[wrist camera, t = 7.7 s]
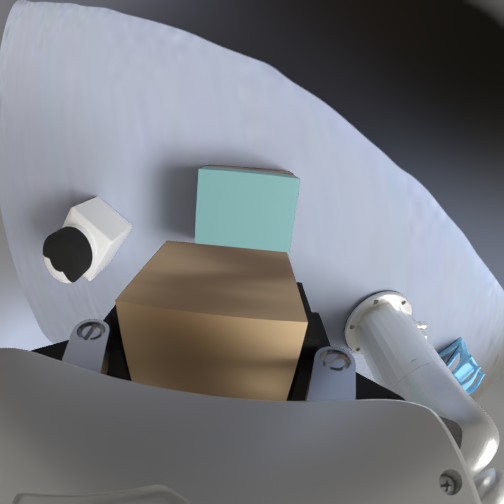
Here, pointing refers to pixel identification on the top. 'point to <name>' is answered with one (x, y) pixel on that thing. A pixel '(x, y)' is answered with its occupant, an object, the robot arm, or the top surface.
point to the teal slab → (245, 208)
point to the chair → (463, 366)
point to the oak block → (214, 321)
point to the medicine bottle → (85, 241)
